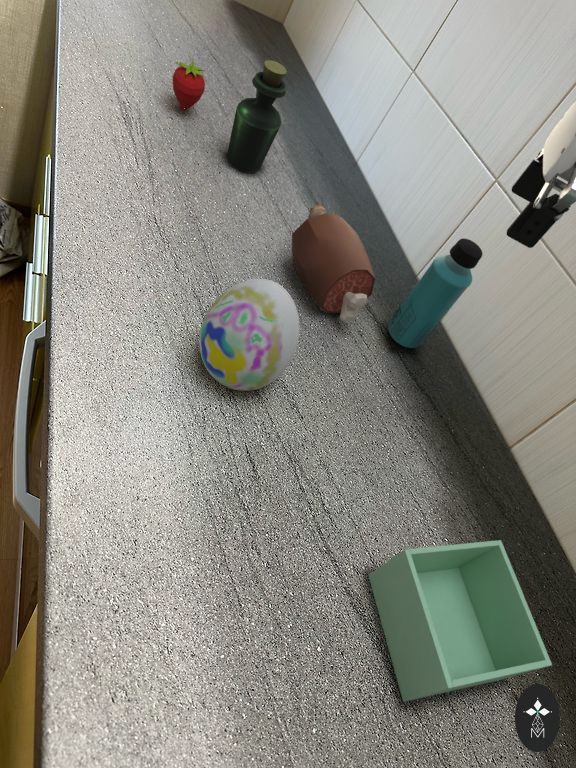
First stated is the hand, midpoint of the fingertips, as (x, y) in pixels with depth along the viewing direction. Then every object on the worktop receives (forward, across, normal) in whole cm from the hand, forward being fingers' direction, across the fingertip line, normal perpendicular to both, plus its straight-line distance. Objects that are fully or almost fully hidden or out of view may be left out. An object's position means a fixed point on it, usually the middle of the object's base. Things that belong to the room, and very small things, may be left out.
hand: (520, 217), depth 63 cm
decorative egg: (+31, -11, +21) cm, 39 cm away
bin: (+31, -33, -14) cm, 47 cm away
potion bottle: (+31, +33, +38) cm, 59 cm away
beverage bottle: (+31, +10, 0) cm, 33 cm away
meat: (+31, +12, +15) cm, 37 cm away
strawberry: (+31, +39, +53) cm, 73 cm away
